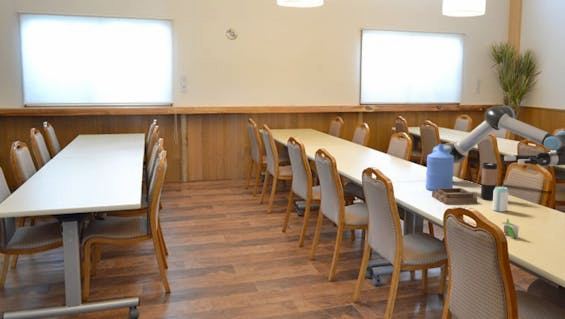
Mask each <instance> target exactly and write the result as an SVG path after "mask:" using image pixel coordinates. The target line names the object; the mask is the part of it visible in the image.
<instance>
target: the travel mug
mask: <svg viewBox="0 0 565 319" xmlns="http://www.w3.org/2000/svg"><path fill="white" fill-rule="evenodd" d="M497 173H498V164H497V163H489V162H484V163H482V170H481V184H480V186H481V188H480V189H481V190H480V198H481V200H484V201H493V191H494V189H495V187H497V175H498V174H497Z"/></svg>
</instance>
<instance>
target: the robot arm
mask: <svg viewBox="0 0 565 319" xmlns="http://www.w3.org/2000/svg"><path fill="white" fill-rule="evenodd" d="M515 116H516V113H515V111H514V109H513V108H512V107H511V106H509V105H499V106H498V105H495V106H492V107H491V106H490V107H489V108H488V109H487V110H486V111H485V113H484V121H482V122H481V123H480V124H479V125H477V126H476V127H475V128H474V129H472V130H471V131H470V132H468V133H467V135H465V136H464V137H463V138H462V139H461V140H459V141H458V140H457V141H454V142H453V143H452V144H450V145H447V144H444V146H443V147H444V149H443V150H444V151H445V152H447V153H449V154H450V155H452V156H454V164H459V163H461V162H463V161H464V160H465V159H466V157H467V156H468V155H469V151H471V150H472V149H473V148H475V146H477V145H478V144H480V142H482V141H483V140H485V139H486V138H487V137H488V136H489V135H490V134H492V133H493V132H494V131H500V130H501V129H503V130H505V131H507V132H510V133H513V134H514V135H516V136H520V137H523V138H524V139H527V140H528V141H531V142H534V143H536V144H538V145H541V146H543V147H544V148H545V149H546V150H548V152H540V153H538V154H537V155H527V154H526V155H525V154H524V155H523V154H522V155H521V154H514V155H504V158H503V159H504V161H505V162H508V161H510V162H511V161H512V162H513V161H514V162H516V161H517V165H534V166H536V165H539V166H540V167H549V166H550V168H552V167H553V166H565V130H559V131H557V134H556V135H554V134H552V133H549V132H547V131H545V130H542V129H540V128H537V127H536V126H533V125H531V124H528V123H525V122H523V121H521V120H518V119H516V118H515ZM438 146H439V145H436V146H434V147H433V148H432V153H434V152H436V151H438ZM550 151H551V152H550ZM553 151H554V152H553Z"/></svg>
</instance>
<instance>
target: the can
mask: <svg viewBox="0 0 565 319" xmlns="http://www.w3.org/2000/svg"><path fill="white" fill-rule="evenodd" d="M508 204H509V190H508V187H505V186H496V187H495V189H494V191H493V200H492V208H491V209H492V211H494V212H498V213H505V212H506V211H508V207H509V206H508Z"/></svg>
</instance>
